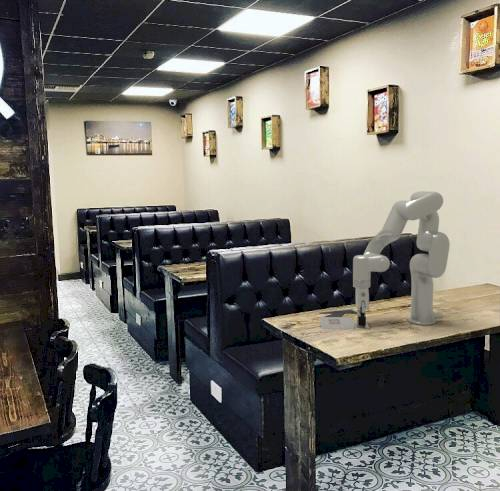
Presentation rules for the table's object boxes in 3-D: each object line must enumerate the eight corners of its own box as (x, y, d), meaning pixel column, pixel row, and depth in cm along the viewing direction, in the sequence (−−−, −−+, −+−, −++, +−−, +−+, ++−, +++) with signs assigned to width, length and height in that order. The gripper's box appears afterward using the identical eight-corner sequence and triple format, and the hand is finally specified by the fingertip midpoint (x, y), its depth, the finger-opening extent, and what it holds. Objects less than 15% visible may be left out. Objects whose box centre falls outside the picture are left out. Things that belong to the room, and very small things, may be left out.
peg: (364, 324, 227) (365, 308, 226) (366, 326, 223) (366, 310, 222) (356, 324, 227) (356, 308, 226) (357, 326, 223) (357, 310, 222)
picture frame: (328, 324, 235) (368, 320, 242) (328, 318, 235) (368, 314, 241) (314, 316, 250) (351, 312, 257) (314, 310, 250) (351, 307, 256)
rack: (366, 324, 231) (366, 316, 230) (370, 332, 219) (370, 324, 218) (319, 324, 233) (319, 316, 232) (321, 332, 221) (321, 323, 220)
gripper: (373, 287, 214) (372, 329, 216) (367, 279, 231) (367, 319, 233) (355, 287, 215) (355, 329, 217) (351, 279, 231) (350, 319, 233)
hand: (361, 323), depth 225 cm, fingers closed on peg, 3 cm apart
